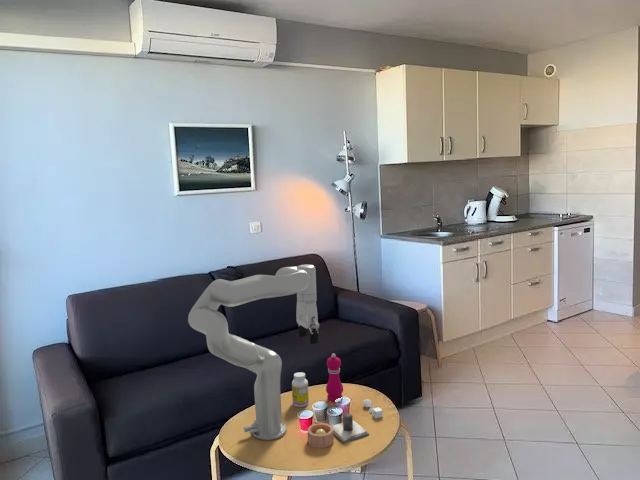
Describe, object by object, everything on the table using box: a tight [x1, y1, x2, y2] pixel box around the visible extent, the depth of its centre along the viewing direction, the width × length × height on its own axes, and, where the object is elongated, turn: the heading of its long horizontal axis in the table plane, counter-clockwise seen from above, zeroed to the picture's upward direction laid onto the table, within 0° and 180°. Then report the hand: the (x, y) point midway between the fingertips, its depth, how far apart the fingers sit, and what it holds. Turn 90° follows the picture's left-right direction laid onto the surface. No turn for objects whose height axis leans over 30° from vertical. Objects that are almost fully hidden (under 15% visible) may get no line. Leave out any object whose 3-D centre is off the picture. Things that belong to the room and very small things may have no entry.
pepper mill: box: [325, 353, 344, 403], centre depth 220 cm, size 7×7×20 cm
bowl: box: [307, 422, 334, 449], centre depth 189 cm, size 9×9×4 cm
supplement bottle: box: [291, 371, 310, 408], centre depth 217 cm, size 7×7×13 cm
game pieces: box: [362, 398, 384, 419], centre depth 210 cm, size 12×3×3 cm, turn 21°
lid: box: [331, 413, 368, 441], centre depth 194 cm, size 10×10×6 cm
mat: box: [333, 431, 370, 444], centre depth 194 cm, size 11×11×1 cm
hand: (308, 339), depth 206 cm, fingers open, 9 cm apart
